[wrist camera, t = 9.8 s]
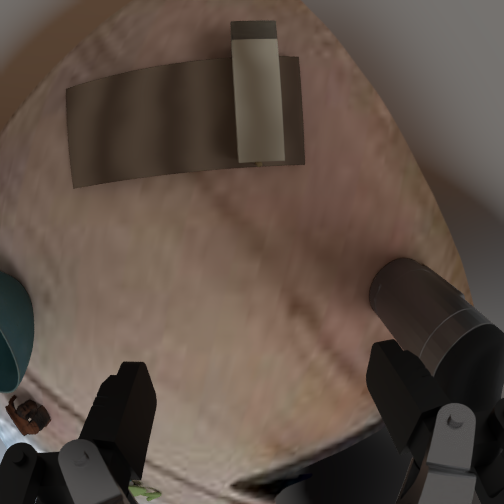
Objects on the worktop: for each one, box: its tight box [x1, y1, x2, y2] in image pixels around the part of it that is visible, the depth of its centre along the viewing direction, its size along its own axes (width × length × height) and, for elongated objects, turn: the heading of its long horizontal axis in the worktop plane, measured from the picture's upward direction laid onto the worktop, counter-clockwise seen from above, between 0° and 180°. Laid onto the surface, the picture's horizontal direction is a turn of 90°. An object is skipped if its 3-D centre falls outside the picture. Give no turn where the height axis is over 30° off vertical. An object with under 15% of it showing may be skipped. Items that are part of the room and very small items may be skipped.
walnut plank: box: [66, 56, 305, 189], centre depth 29 cm, size 26×12×2 cm, turn 93°
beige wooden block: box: [231, 21, 285, 167], centre depth 27 cm, size 4×14×6 cm, turn 3°
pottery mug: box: [5, 395, 51, 436], centre depth 42 cm, size 12×10×8 cm
